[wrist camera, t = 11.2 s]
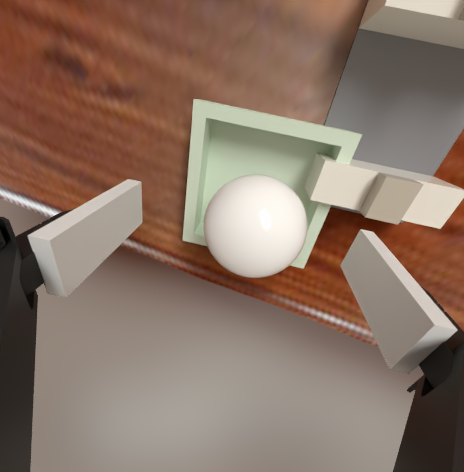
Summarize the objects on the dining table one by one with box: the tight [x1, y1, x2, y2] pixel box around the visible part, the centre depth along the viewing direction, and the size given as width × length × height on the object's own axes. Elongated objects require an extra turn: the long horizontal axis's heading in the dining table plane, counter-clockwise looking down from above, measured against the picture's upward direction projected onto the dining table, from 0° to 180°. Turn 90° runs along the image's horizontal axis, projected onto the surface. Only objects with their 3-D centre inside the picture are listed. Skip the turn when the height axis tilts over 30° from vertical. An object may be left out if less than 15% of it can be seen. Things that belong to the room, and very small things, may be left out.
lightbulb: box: [203, 174, 307, 278], centre depth 16 cm, size 6×6×11 cm
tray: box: [183, 99, 362, 269], centre depth 20 cm, size 12×12×3 cm
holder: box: [304, 0, 464, 229], centre depth 15 cm, size 10×17×6 cm, turn 170°
